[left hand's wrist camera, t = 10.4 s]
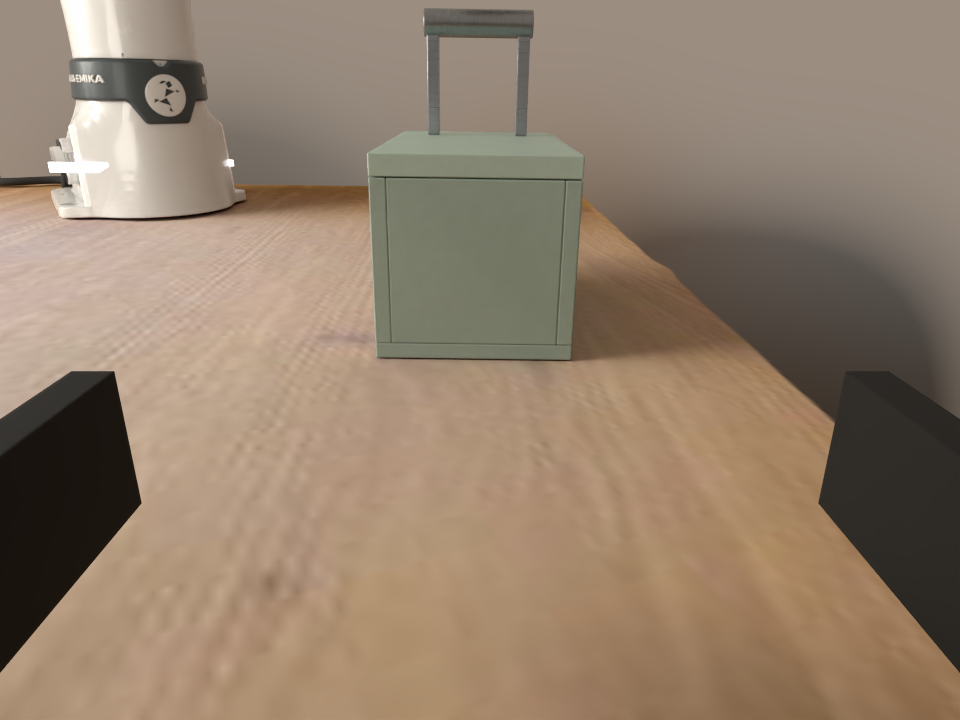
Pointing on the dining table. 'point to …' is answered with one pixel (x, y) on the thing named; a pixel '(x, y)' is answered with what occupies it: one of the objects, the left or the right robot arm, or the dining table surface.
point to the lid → (476, 149)
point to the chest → (474, 266)
